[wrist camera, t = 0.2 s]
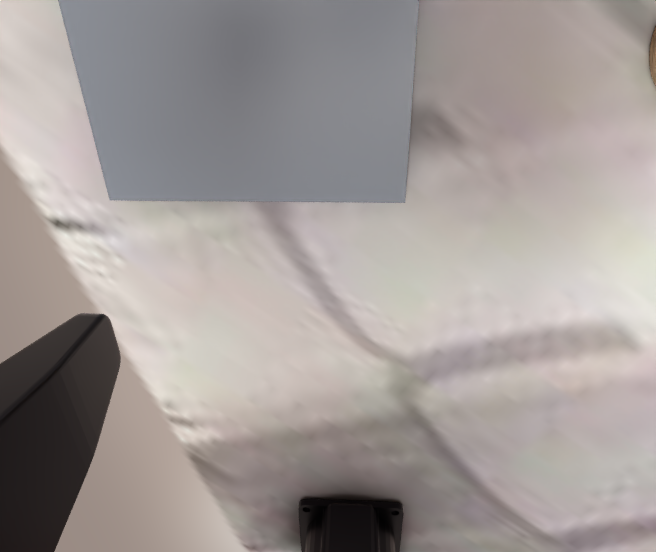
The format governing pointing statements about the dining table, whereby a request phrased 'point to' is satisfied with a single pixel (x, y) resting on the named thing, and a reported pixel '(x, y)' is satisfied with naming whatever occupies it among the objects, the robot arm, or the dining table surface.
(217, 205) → the dining table surface
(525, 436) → the dining table surface
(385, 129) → the slate pad
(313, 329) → the dining table surface
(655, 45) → the disc
